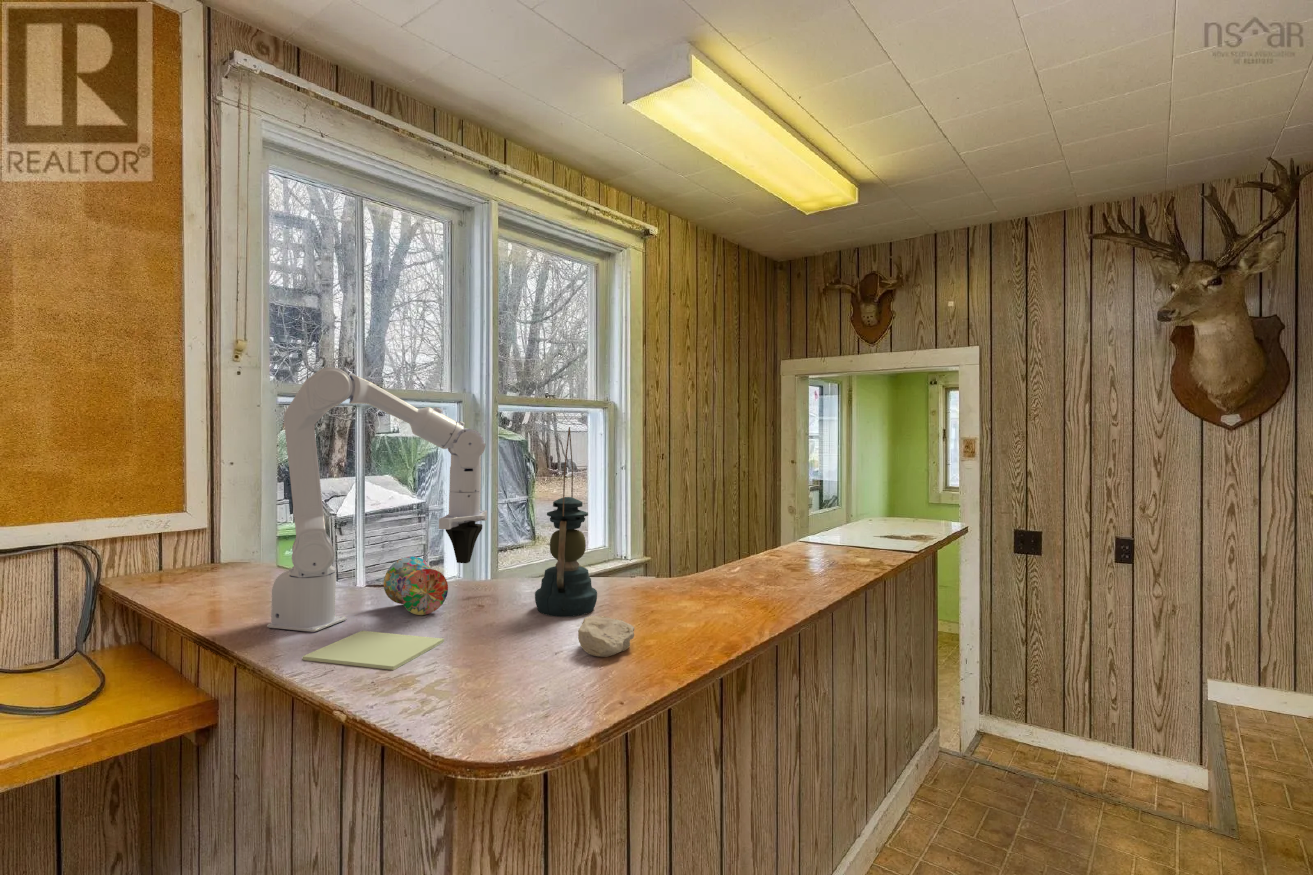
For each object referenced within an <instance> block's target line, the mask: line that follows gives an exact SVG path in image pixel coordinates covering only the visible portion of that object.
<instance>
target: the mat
mask: <svg viewBox="0 0 1313 875" xmlns="http://www.w3.org/2000/svg"><path fill="white" fill-rule="evenodd" d="M444 642H445V638H441V637H431V636H420V635H411V634H410V635H409V634H399V633H391V632H390V633H389V632H378V631H368V630H360V631H358V632H355V633H354V634H351V635H349V636H347V637H344V638H342V639H340V640H337V641H335V642H333V643H330V644H328V645H326V646H323V647H321V648H318V649H316V650H313V651H312V652H310V653H307V654H305V655H303V656H302V660H303V661H310V662H318V663H327V664H328V663H329V664H336V665H346V666H352V667H353V666H355V667H363V668H364V667H365V668H373V669H381V670H382V669H383V670H388V671H389V670H391V671H394V670H396V669H398V668H400V667H401V666H403V665H405V664H407V663H409V662H411V661H413V659H416V658H418V657H420V656H421V655H423V654H425V653H427V652H429V651H430V650H432V649H435V647H437V646H439V645H440V644H444Z"/></svg>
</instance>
